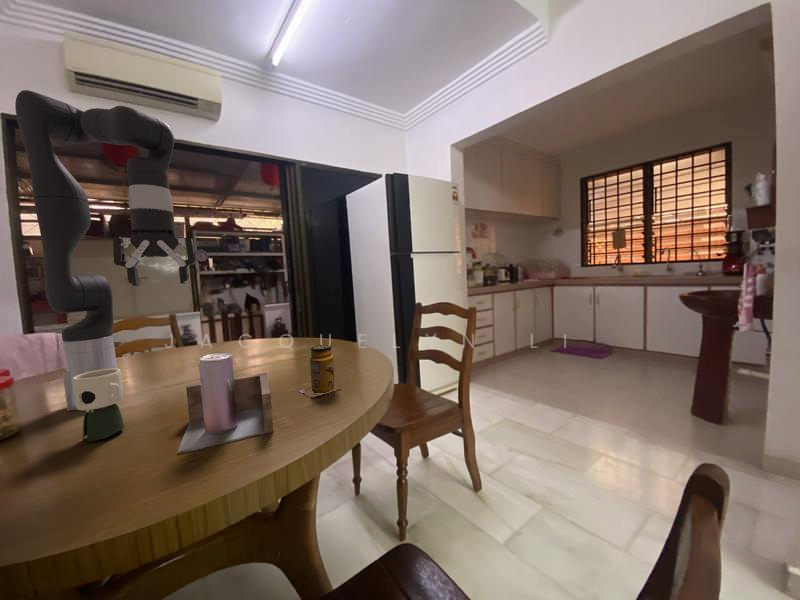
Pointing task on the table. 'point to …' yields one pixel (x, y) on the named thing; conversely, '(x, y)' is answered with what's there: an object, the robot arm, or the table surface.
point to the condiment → (321, 369)
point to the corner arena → (250, 411)
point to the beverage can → (218, 393)
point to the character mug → (99, 402)
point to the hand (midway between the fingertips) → (160, 284)
